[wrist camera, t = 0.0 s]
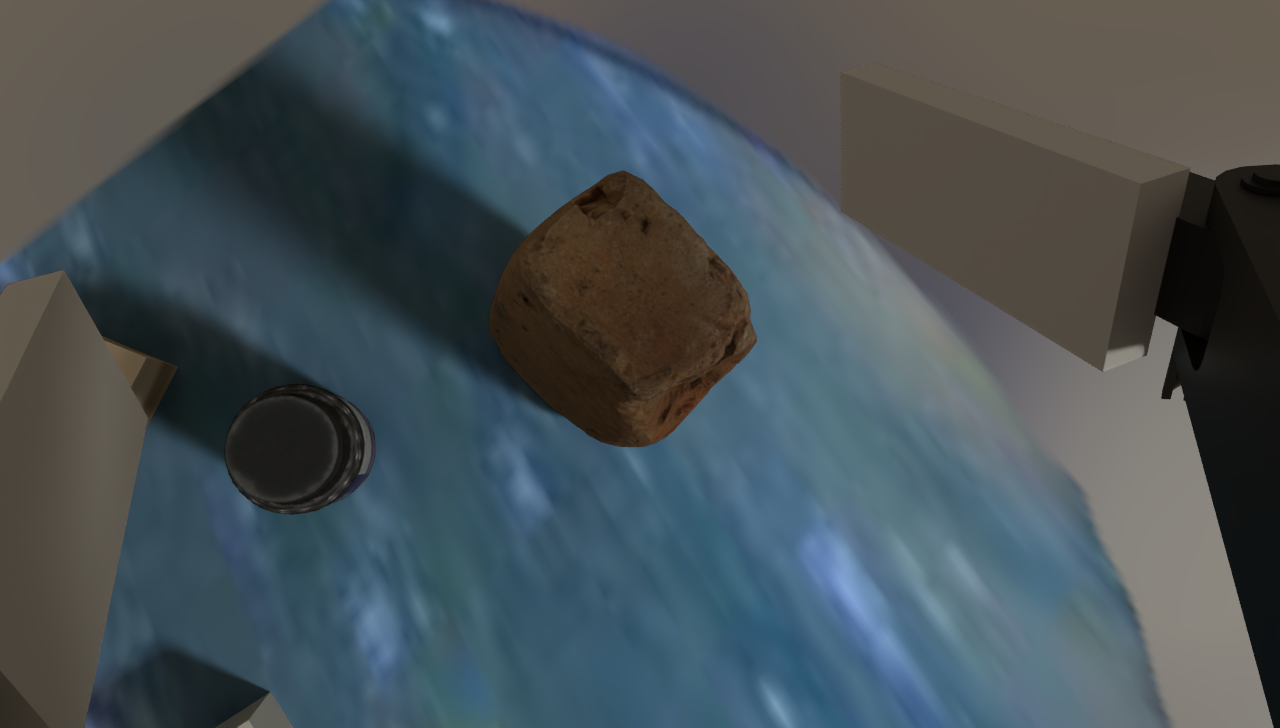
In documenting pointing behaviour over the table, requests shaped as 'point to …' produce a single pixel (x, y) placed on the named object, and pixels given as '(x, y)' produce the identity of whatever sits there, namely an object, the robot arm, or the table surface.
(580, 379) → the block
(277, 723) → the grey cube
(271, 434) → the pill bottle
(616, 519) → the table surface
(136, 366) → the birch cube
